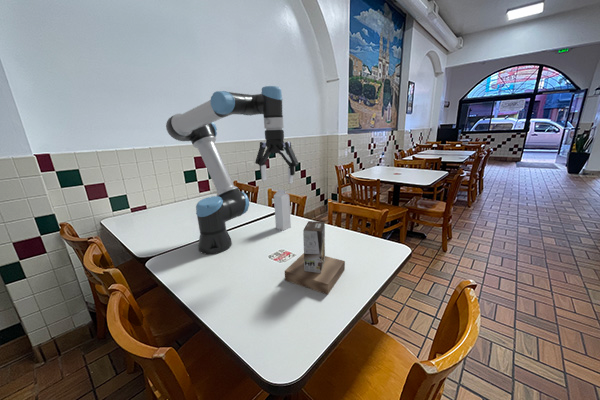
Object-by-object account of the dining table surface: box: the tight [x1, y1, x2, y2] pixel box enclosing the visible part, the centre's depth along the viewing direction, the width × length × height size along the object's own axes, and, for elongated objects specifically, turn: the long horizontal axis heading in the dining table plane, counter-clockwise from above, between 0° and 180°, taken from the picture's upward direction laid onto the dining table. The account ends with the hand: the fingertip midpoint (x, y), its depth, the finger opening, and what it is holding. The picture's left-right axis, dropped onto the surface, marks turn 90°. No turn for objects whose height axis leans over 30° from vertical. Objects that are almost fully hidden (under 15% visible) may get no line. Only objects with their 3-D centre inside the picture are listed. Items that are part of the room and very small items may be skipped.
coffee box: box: [302, 220, 326, 273], centre depth 88 cm, size 9×6×16 cm
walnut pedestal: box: [284, 252, 346, 295], centre depth 91 cm, size 17×16×4 cm
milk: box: [273, 188, 292, 232], centre depth 132 cm, size 6×6×22 cm
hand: (277, 181), depth 102 cm, fingers open, 13 cm apart
